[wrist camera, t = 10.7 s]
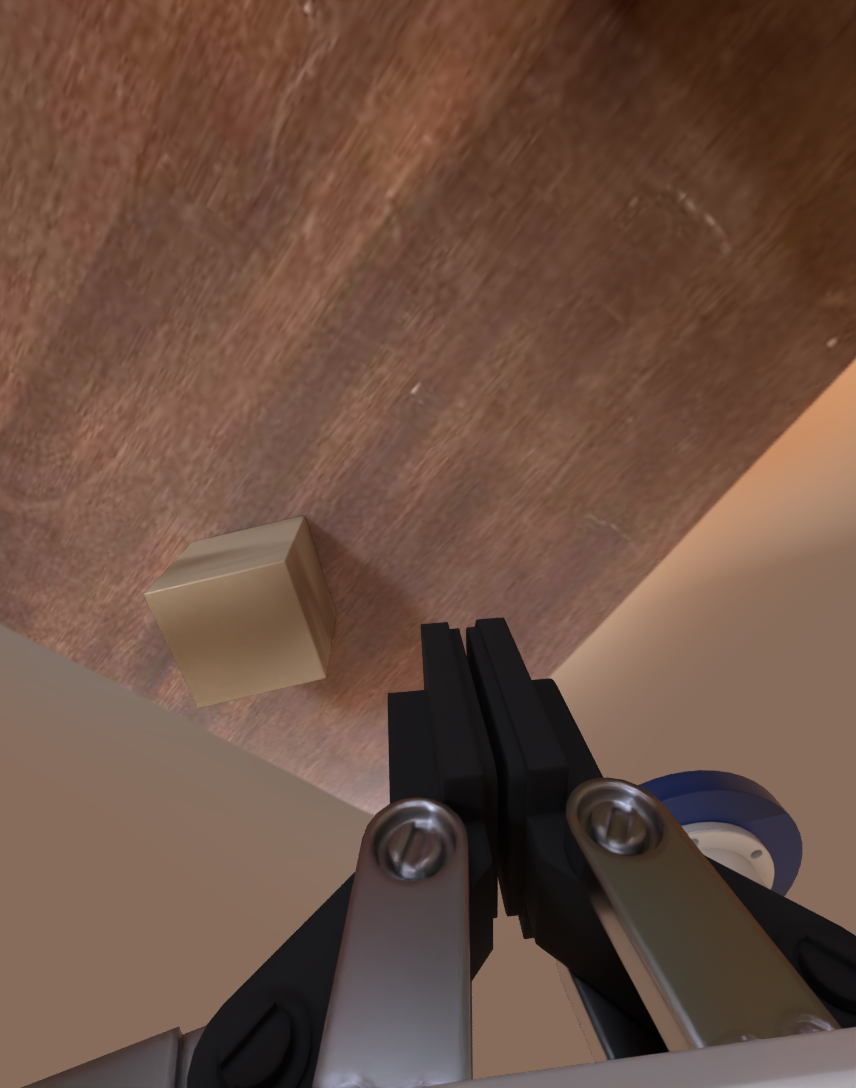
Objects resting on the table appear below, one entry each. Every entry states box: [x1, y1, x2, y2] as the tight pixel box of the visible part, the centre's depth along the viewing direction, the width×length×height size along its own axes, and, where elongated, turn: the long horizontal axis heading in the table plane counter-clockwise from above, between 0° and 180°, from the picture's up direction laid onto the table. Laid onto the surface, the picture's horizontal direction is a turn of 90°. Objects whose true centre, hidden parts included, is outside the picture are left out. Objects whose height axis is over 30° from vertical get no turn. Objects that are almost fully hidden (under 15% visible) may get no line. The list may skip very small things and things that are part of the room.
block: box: [144, 516, 336, 708], centre depth 26 cm, size 6×6×6 cm
